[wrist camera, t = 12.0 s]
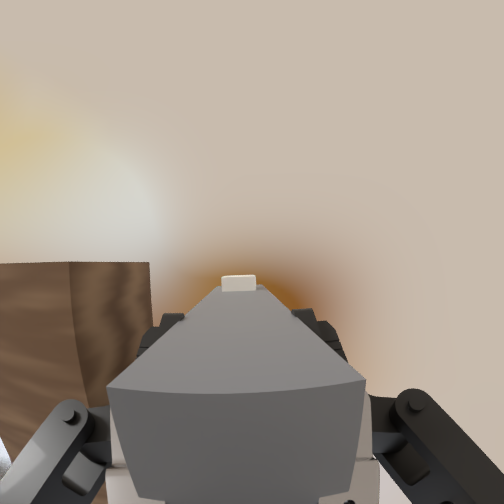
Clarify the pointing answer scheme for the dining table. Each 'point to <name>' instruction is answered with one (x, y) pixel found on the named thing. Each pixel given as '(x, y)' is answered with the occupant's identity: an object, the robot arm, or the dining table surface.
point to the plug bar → (239, 406)
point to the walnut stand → (66, 338)
